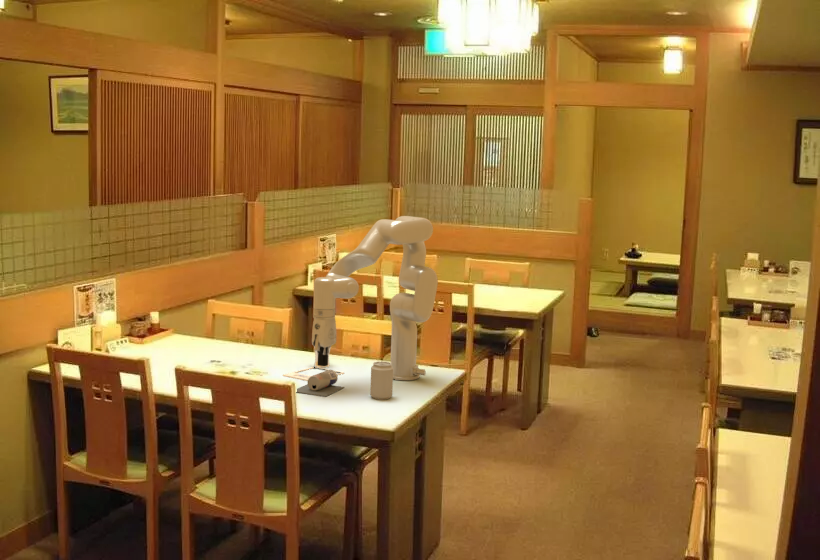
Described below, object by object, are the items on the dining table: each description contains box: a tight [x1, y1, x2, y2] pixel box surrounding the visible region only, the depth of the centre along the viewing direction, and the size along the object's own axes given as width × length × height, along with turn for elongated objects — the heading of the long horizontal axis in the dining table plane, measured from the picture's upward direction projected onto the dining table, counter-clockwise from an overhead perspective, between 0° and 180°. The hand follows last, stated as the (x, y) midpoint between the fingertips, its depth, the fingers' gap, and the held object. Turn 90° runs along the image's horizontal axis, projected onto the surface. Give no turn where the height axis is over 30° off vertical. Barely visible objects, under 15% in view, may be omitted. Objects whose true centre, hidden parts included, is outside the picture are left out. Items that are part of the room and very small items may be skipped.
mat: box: [296, 383, 345, 398], centre depth 317 cm, size 13×14×1 cm
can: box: [369, 360, 394, 401], centre depth 309 cm, size 8×8×12 cm
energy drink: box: [307, 369, 338, 391], centre depth 318 cm, size 5×5×12 cm
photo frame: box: [282, 366, 345, 382], centre depth 339 cm, size 15×1×18 cm
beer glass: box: [313, 346, 332, 369], centre depth 352 cm, size 7×7×15 cm
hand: (322, 365), depth 316 cm, fingers closed
